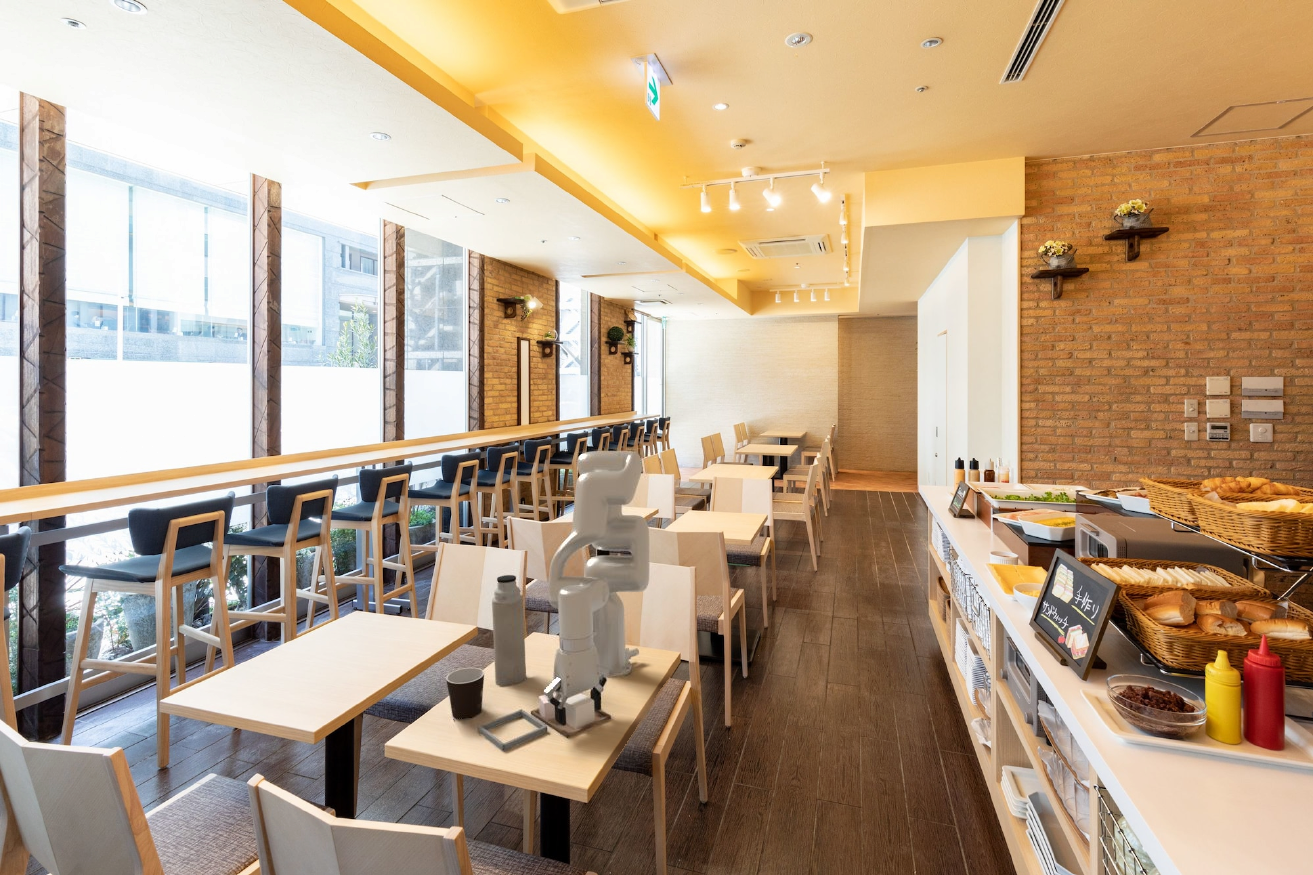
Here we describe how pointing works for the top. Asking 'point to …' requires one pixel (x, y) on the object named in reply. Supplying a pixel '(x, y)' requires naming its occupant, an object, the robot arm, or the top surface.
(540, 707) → the small marshmallow
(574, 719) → the cream white cube
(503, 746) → the slate dish
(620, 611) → the robot arm
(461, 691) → the coffee mug
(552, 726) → the walnut tray
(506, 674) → the thermos bottle
